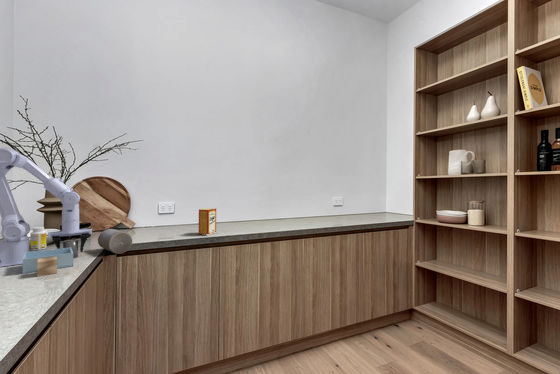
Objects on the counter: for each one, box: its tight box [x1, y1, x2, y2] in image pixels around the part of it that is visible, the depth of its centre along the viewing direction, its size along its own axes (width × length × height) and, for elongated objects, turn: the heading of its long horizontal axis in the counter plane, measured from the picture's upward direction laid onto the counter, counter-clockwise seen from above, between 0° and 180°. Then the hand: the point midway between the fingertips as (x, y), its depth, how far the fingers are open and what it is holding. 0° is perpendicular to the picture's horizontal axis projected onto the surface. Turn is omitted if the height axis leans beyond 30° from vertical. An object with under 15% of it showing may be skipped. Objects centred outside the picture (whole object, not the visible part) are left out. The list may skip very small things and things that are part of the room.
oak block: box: [36, 256, 58, 278], centre depth 93 cm, size 5×5×5 cm
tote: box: [22, 247, 74, 275], centre depth 101 cm, size 14×12×5 cm
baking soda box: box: [198, 207, 217, 235], centre depth 169 cm, size 10×6×16 cm
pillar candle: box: [97, 228, 133, 255], centre depth 124 cm, size 10×10×15 cm
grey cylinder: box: [62, 239, 79, 259], centre depth 113 cm, size 5×5×7 cm
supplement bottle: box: [29, 226, 47, 252], centre depth 126 cm, size 6×6×10 cm
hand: (70, 252), depth 113 cm, fingers open, 7 cm apart
